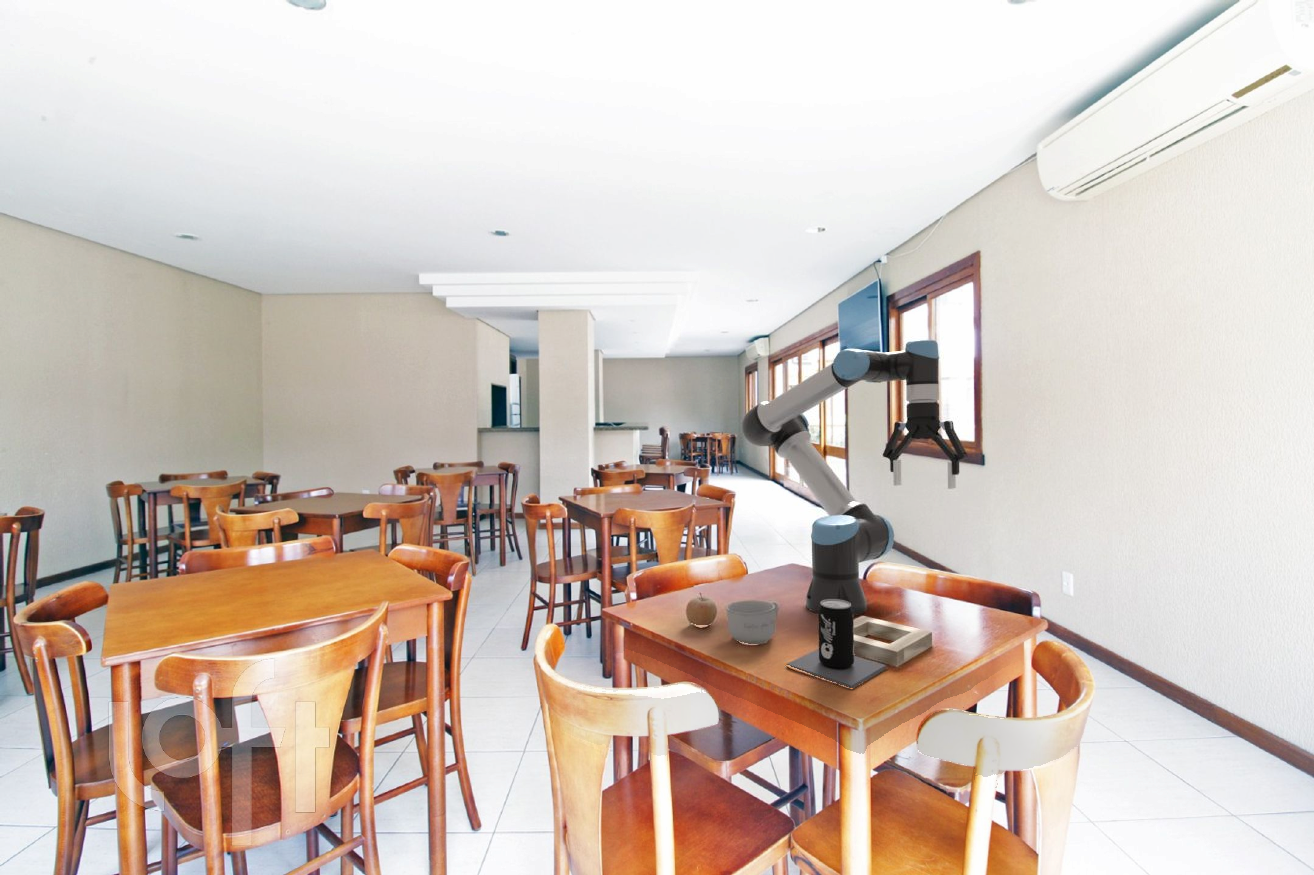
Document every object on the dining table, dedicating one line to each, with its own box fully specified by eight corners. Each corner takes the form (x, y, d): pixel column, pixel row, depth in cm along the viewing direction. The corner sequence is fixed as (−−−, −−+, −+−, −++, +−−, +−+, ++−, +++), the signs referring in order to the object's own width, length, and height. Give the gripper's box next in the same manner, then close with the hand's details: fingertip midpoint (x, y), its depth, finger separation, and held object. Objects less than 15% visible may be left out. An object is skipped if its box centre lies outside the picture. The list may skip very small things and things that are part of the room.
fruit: (681, 623, 146) (680, 591, 146) (708, 619, 149) (707, 587, 148) (694, 633, 139) (694, 599, 139) (722, 628, 141) (722, 595, 141)
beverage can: (856, 671, 113) (855, 608, 113) (820, 669, 115) (819, 607, 114) (851, 658, 120) (851, 598, 120) (817, 656, 121) (817, 597, 121)
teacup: (745, 653, 126) (745, 615, 126) (717, 637, 136) (716, 602, 135) (797, 641, 132) (796, 605, 132) (766, 627, 142) (766, 593, 142)
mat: (786, 667, 118) (786, 663, 118) (822, 650, 127) (822, 646, 127) (851, 689, 108) (851, 685, 108) (886, 669, 116) (886, 664, 116)
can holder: (825, 646, 129) (824, 632, 129) (862, 628, 140) (862, 615, 140) (897, 666, 117) (897, 651, 117) (932, 645, 128) (932, 631, 128)
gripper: (981, 400, 144) (982, 488, 144) (882, 404, 162) (883, 482, 162) (969, 399, 139) (970, 491, 139) (868, 404, 157) (869, 484, 157)
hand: (923, 486), depth 151 cm, fingers open, 13 cm apart
